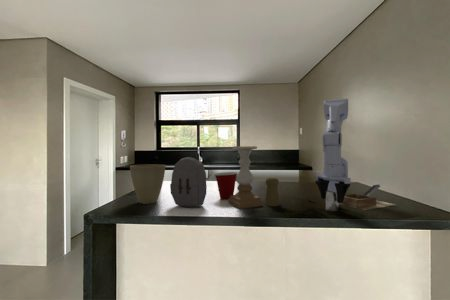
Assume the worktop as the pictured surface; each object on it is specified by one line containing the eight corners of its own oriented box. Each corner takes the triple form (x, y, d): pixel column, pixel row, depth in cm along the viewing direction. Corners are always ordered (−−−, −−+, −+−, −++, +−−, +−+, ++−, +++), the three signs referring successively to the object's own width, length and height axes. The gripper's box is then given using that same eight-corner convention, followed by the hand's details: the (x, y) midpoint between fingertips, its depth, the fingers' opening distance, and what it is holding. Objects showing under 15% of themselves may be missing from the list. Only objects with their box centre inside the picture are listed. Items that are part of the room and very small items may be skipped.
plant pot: (153, 207, 104) (152, 167, 104) (122, 204, 109) (121, 166, 109) (172, 199, 118) (171, 164, 118) (144, 197, 123) (144, 163, 123)
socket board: (333, 205, 105) (333, 194, 105) (363, 200, 113) (363, 190, 113) (364, 213, 93) (364, 201, 92) (396, 207, 100) (396, 196, 100)
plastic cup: (223, 195, 127) (223, 170, 127) (242, 197, 121) (242, 171, 120) (209, 199, 118) (209, 172, 118) (229, 202, 112) (228, 174, 112)
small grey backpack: (209, 205, 106) (209, 156, 106) (201, 210, 98) (201, 157, 98) (176, 203, 111) (175, 156, 110) (166, 208, 103) (165, 157, 102)
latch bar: (360, 200, 108) (359, 198, 109) (365, 199, 110) (364, 197, 110) (375, 187, 102) (373, 184, 103) (380, 186, 104) (378, 184, 104)
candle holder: (239, 209, 100) (238, 146, 100) (227, 203, 110) (226, 146, 110) (263, 206, 105) (263, 146, 104) (250, 200, 115) (249, 146, 114)
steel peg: (323, 209, 99) (323, 190, 99) (331, 207, 101) (331, 189, 101) (332, 211, 95) (332, 192, 95) (341, 210, 97) (341, 191, 97)
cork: (279, 206, 104) (279, 178, 103) (264, 205, 105) (264, 178, 105) (279, 203, 110) (279, 176, 109) (265, 202, 111) (265, 176, 111)
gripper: (309, 163, 103) (309, 197, 103) (340, 166, 89) (340, 205, 90) (323, 162, 106) (323, 196, 106) (354, 165, 92) (354, 203, 93)
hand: (332, 200), depth 98 cm, fingers open, 7 cm apart
